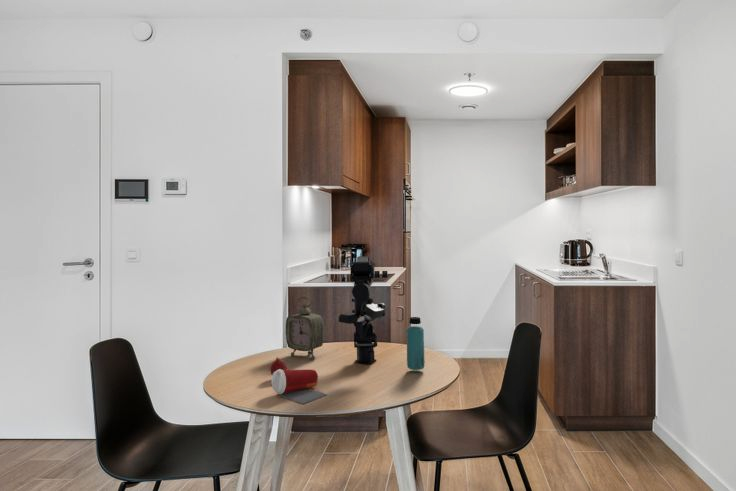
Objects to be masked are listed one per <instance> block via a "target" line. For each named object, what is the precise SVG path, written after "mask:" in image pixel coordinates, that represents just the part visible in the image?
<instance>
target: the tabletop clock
mask: <svg viewBox="0 0 736 491" xmlns="http://www.w3.org/2000/svg"><path fill="white" fill-rule="evenodd" d="M302 299H306V300H308V301H309V303H310V304H309V305H307V304H306V303H303V304H301V303H300V301H301V300H302ZM297 300H298V301H297V304H298V305H299V306H300V307H301V308H300V309H299V311H298V313H296V314H293V315H288V316H287V317H286V320H285V340H286V345H287V347H288V348H290V350H293V351H292V352H291V353H290V356H291V357H294V356H295V353H296V351H299V352H307V355H308V356H310V359H311V360H314V359H315V355H314V350H315V349H318V348H320V347H322V346H323V344H324V342H325V322H324V321H325V320H324V317H323V316H321V315H320V314H318V313H312V310H311V309H310V308H309V307H310V306H312V301H311V299H310V298H309V297H307V296H301V297H300V298H298V299H297Z"/></svg>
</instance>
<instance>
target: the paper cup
mask: <svg viewBox="0 0 736 491" xmlns="http://www.w3.org/2000/svg"><path fill="white" fill-rule="evenodd" d="M318 383H319V376H318V373H317V371H316V370H315V369H287V370H281V369H278V370H277V371H275V372H274V373H273V375H272V374H271V386H272V390H273V391H274V393H276V394H282V393H283V392H288V391H294V390H299V389H305V388H309V389H311V388H314V387H316V386H317V385H318Z"/></svg>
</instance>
